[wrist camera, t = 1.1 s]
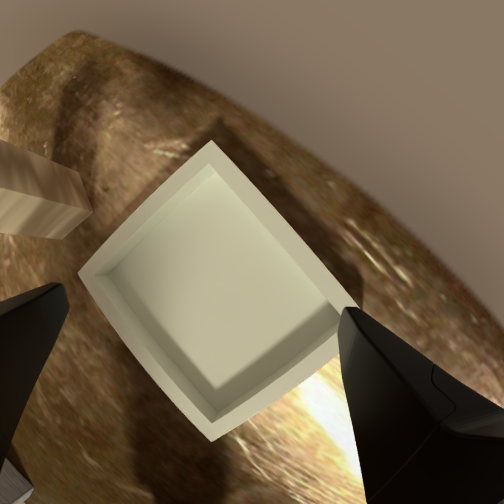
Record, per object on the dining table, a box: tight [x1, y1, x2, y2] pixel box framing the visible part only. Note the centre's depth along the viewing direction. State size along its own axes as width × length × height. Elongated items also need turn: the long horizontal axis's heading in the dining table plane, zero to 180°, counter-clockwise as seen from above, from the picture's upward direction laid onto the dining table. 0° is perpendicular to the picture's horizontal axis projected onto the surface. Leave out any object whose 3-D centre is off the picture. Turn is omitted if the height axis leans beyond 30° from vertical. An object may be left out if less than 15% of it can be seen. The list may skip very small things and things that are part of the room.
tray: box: [78, 140, 359, 442], centre depth 21 cm, size 14×16×3 cm
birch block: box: [0, 139, 94, 240], centre depth 18 cm, size 4×4×13 cm
